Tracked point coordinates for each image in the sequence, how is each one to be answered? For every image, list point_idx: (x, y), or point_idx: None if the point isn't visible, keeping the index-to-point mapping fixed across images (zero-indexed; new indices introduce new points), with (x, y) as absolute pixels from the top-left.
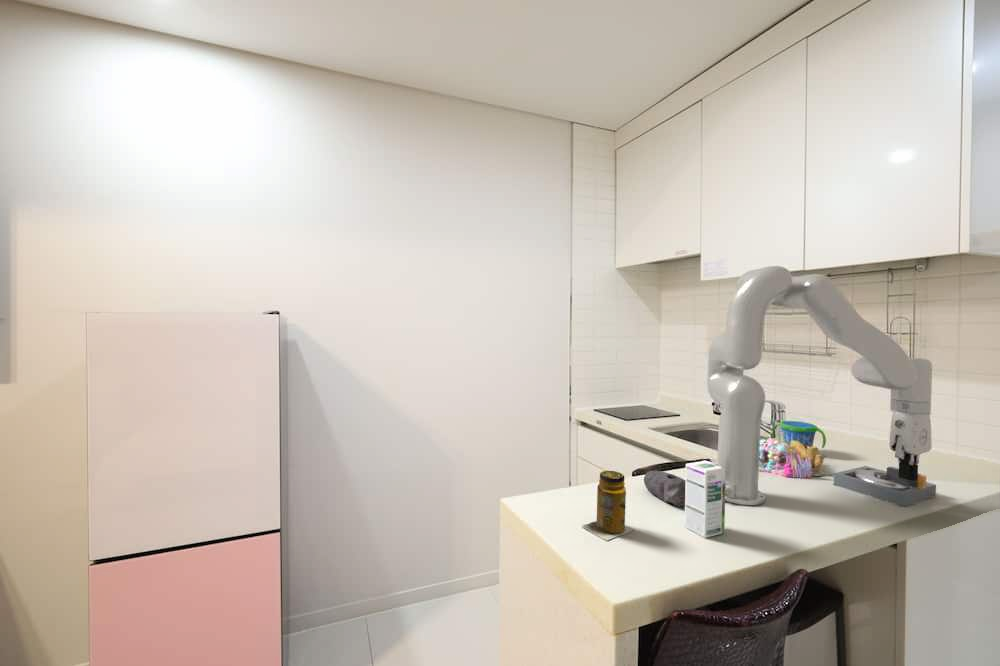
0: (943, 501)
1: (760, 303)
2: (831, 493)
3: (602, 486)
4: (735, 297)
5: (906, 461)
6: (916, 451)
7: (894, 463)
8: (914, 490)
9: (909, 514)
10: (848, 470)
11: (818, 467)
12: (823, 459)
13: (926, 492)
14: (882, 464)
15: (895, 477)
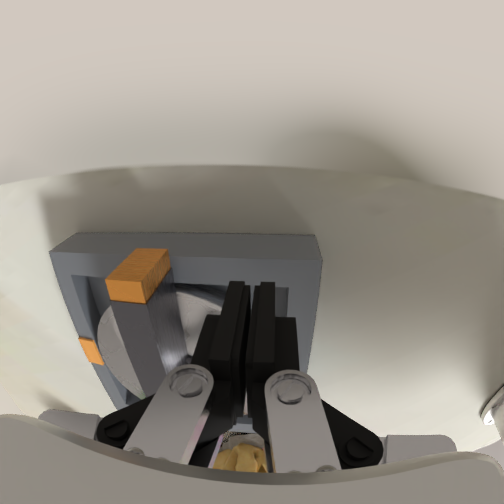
0: (91, 199)
1: None
2: (385, 377)
3: None
4: None
5: (341, 417)
6: (445, 501)
7: (8, 356)
8: (206, 263)
9: (388, 192)
10: None
11: (249, 452)
12: (238, 470)
13: (120, 244)
14: (30, 370)
15: (179, 352)
